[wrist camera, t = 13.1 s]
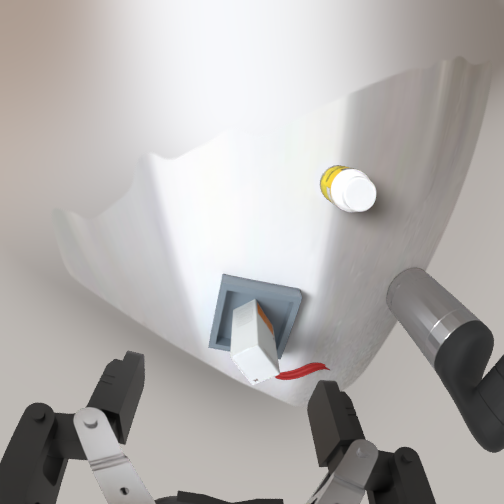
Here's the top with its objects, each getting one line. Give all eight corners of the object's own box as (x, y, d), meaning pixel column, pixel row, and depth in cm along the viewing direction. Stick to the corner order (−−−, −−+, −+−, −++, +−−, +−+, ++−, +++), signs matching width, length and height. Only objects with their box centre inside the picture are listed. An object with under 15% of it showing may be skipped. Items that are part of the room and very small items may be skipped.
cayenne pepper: (333, 360, 52) (336, 367, 51) (327, 378, 54) (329, 384, 52) (271, 359, 52) (271, 365, 50) (267, 377, 53) (268, 383, 52)
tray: (299, 288, 46) (302, 297, 44) (278, 348, 50) (280, 359, 48) (222, 273, 45) (221, 282, 42) (210, 336, 49) (208, 347, 46)
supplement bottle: (346, 159, 40) (373, 164, 30) (359, 193, 41) (388, 207, 32) (312, 173, 40) (331, 182, 31) (326, 207, 42) (348, 226, 33)
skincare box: (274, 325, 48) (281, 375, 36) (251, 335, 48) (252, 387, 37) (255, 296, 46) (258, 344, 35) (231, 308, 46) (228, 358, 35)
